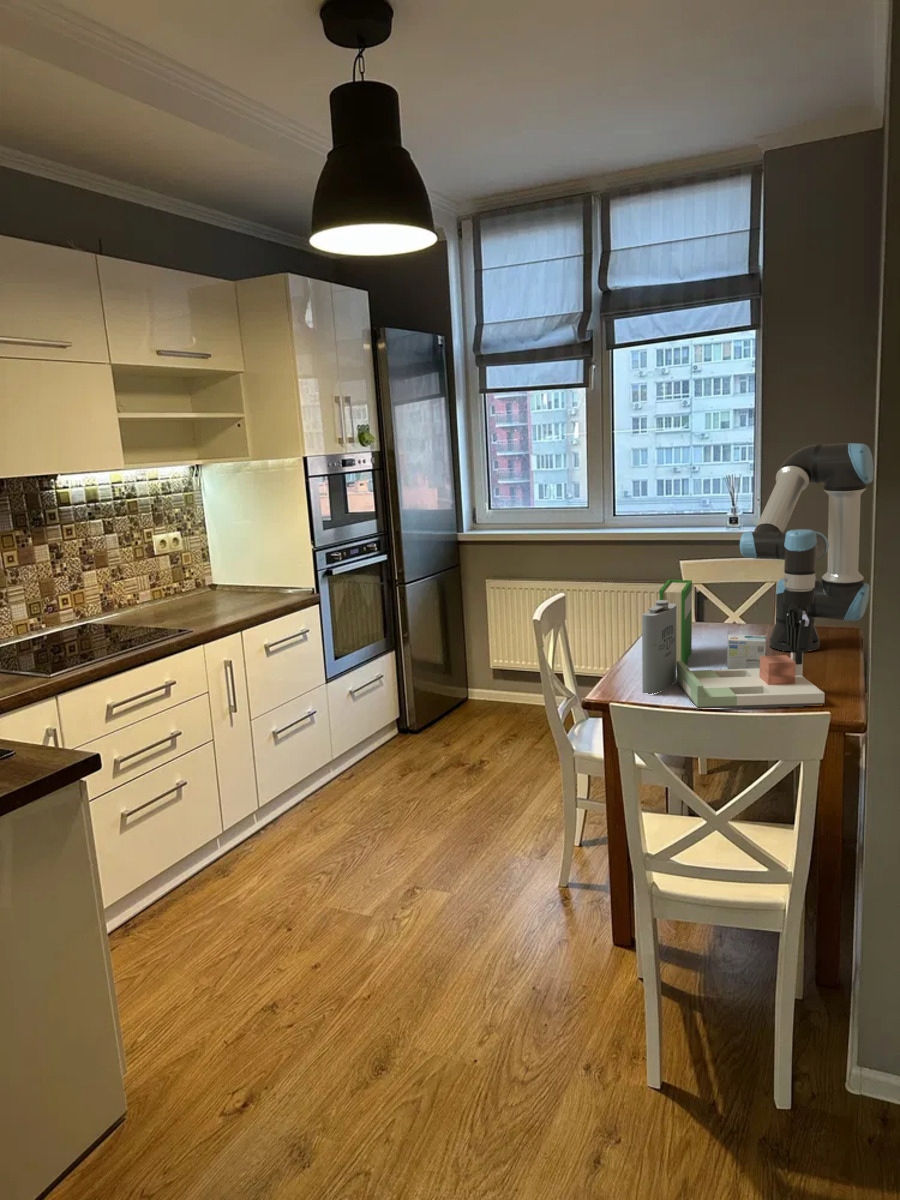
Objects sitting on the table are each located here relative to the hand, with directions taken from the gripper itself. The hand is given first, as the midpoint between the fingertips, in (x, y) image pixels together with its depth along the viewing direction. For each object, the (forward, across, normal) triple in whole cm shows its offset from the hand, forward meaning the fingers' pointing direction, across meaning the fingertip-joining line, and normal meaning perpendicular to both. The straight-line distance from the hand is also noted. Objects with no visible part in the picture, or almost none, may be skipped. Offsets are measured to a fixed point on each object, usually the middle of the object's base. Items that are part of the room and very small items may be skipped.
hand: (796, 674), depth 220 cm
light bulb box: (+5, -20, -7) cm, 22 cm away
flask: (+5, -9, -34) cm, 36 cm away
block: (+2, 0, -5) cm, 5 cm away
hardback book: (+5, -36, -24) cm, 44 cm away
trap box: (+5, 0, -13) cm, 14 cm away
